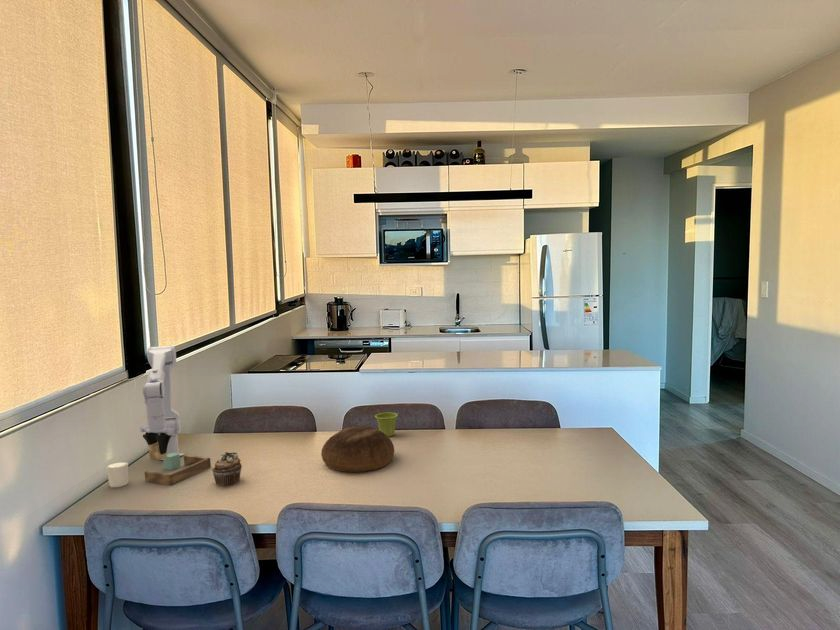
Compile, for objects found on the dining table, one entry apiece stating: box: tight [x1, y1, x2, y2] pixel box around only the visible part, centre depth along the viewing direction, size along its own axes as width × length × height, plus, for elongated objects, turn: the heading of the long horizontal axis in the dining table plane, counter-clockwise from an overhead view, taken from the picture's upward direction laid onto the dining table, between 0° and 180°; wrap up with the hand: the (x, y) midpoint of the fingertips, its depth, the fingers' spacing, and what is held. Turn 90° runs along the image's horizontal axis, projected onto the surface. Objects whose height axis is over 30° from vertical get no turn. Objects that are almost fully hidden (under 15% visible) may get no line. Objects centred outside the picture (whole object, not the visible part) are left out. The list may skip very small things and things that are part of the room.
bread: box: [320, 425, 395, 473], centre depth 221 cm, size 26×27×13 cm
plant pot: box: [375, 412, 398, 438], centre depth 254 cm, size 9×9×9 cm
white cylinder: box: [105, 461, 129, 488], centre depth 207 cm, size 7×7×7 cm
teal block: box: [162, 453, 181, 471], centre depth 223 cm, size 4×4×5 cm
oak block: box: [148, 442, 167, 461], centre depth 213 cm, size 4×4×5 cm
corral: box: [144, 454, 212, 486], centre depth 215 cm, size 12×19×4 cm, turn 156°
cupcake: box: [211, 451, 242, 487], centre depth 205 cm, size 10×10×10 cm
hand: (158, 452), depth 214 cm, fingers closed on oak block, 4 cm apart
